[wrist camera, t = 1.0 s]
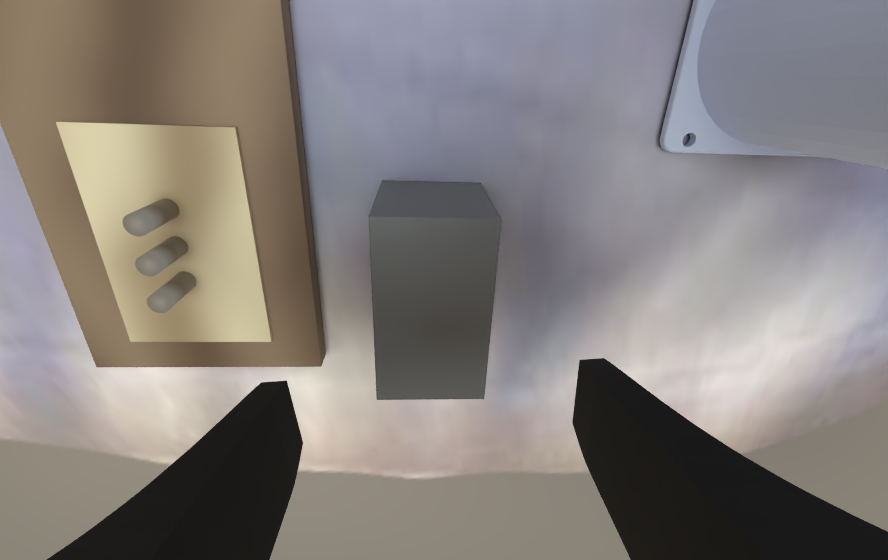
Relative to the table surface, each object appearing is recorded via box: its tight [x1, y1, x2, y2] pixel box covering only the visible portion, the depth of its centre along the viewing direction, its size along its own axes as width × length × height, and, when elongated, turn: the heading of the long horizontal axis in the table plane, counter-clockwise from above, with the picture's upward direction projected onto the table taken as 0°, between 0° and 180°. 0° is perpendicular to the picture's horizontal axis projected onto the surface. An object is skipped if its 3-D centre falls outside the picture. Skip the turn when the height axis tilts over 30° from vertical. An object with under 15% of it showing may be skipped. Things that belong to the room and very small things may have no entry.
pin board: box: [0, 0, 325, 367], centre depth 14 cm, size 10×20×3 cm, turn 178°
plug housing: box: [369, 181, 502, 400], centre depth 16 cm, size 4×7×5 cm, turn 178°
